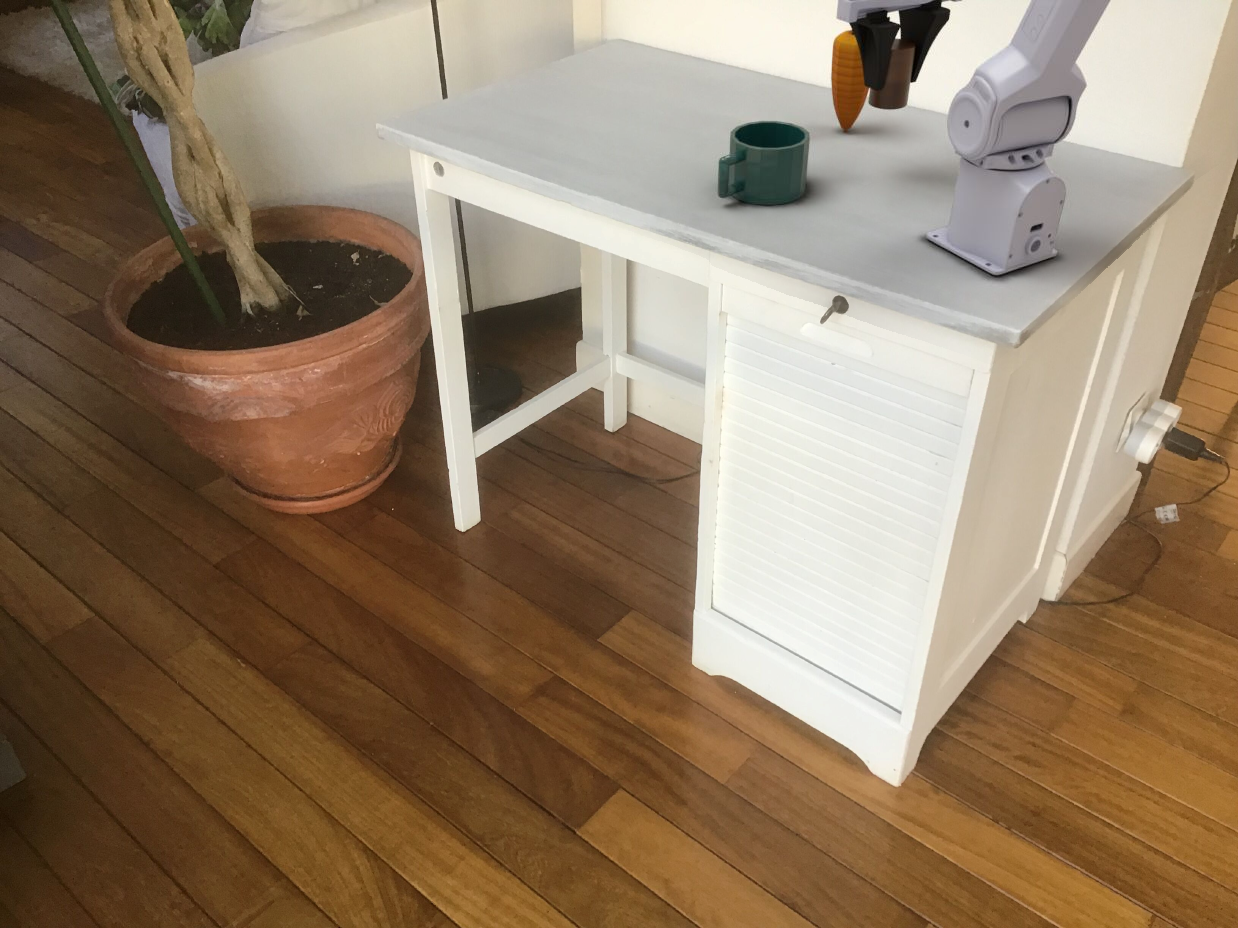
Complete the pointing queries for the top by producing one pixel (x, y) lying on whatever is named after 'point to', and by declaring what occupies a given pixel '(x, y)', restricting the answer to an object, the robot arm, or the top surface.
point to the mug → (765, 163)
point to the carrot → (847, 79)
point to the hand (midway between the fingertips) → (890, 84)
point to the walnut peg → (895, 77)
